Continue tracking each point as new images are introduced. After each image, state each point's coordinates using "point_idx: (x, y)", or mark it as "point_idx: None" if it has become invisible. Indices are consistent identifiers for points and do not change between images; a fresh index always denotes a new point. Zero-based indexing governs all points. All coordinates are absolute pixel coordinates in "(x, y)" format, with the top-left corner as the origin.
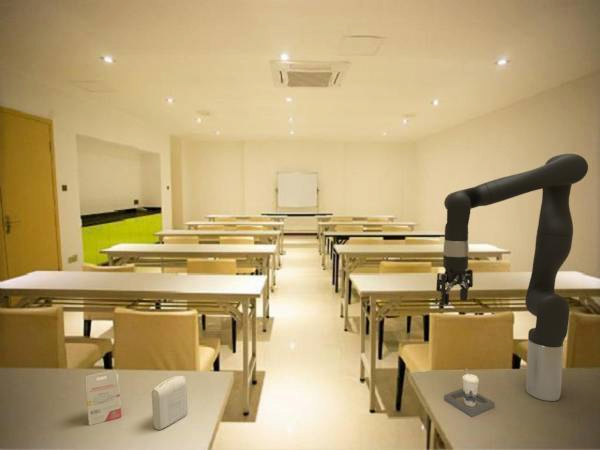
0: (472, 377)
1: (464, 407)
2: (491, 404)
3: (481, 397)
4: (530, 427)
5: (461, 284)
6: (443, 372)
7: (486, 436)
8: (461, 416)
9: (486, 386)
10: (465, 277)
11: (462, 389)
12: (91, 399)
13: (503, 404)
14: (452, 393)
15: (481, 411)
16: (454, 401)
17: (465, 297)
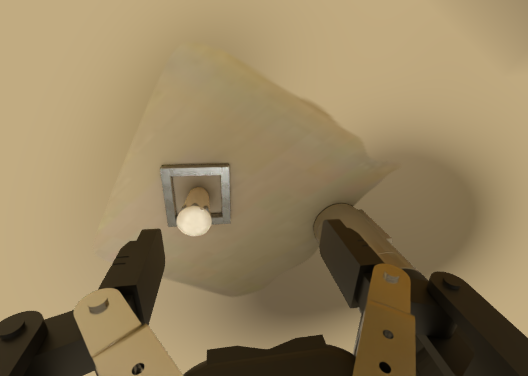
0: (191, 231)
1: (166, 212)
2: (221, 223)
3: (223, 204)
4: (231, 267)
5: (357, 337)
6: (251, 79)
7: None
8: (153, 214)
9: (280, 169)
10: (496, 371)
11: (213, 170)
12: None
13: (251, 219)
14: (181, 171)
15: None
16: (163, 192)
17: (328, 266)
